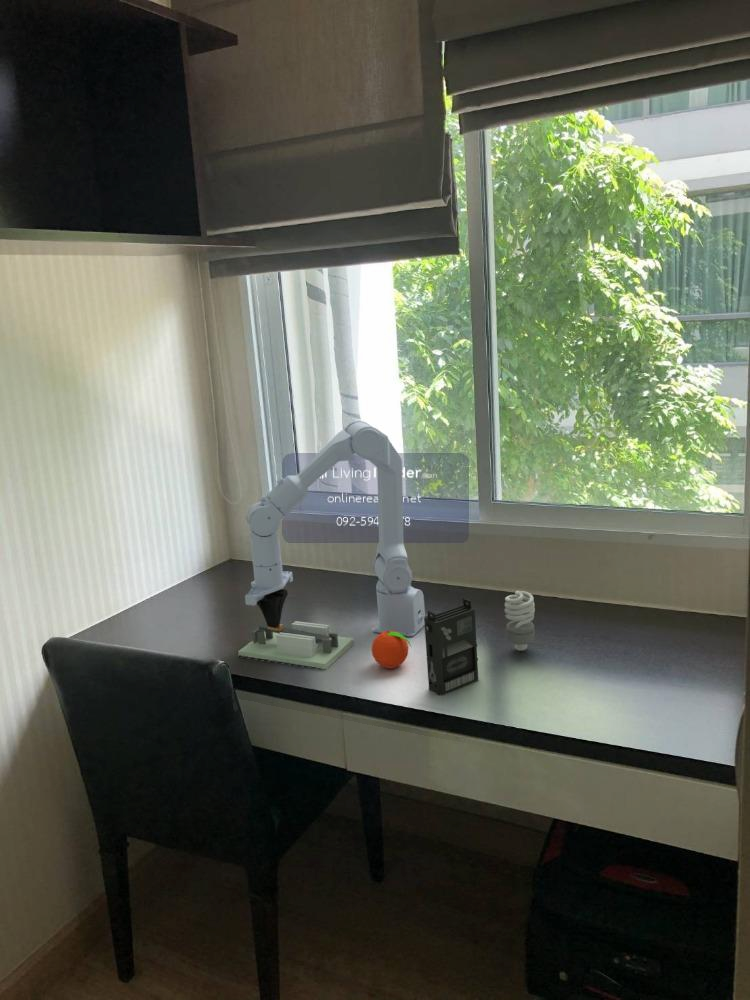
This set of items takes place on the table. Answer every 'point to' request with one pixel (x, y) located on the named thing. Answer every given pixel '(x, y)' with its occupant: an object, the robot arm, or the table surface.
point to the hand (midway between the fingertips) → (273, 626)
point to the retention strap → (294, 632)
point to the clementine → (390, 649)
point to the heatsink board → (298, 646)
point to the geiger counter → (451, 648)
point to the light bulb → (520, 619)
